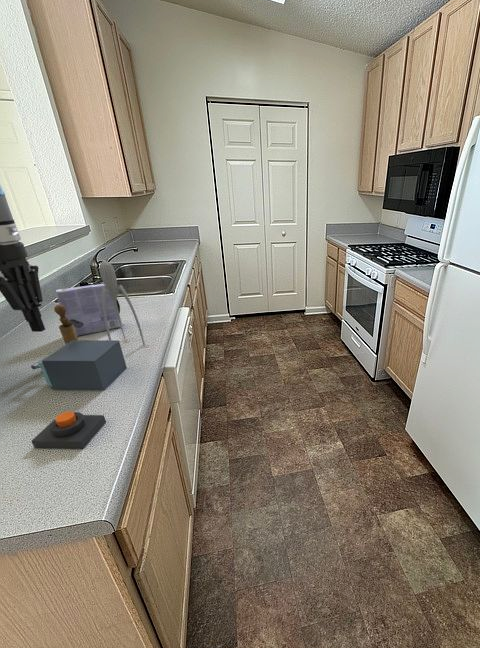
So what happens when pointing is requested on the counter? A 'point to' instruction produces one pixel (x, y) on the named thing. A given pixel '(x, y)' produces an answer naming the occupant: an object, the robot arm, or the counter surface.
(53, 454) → the counter surface
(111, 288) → the juicer
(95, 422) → the block
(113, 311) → the cake pan box
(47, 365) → the dark grey box
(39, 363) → the drawer
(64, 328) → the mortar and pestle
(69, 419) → the button
